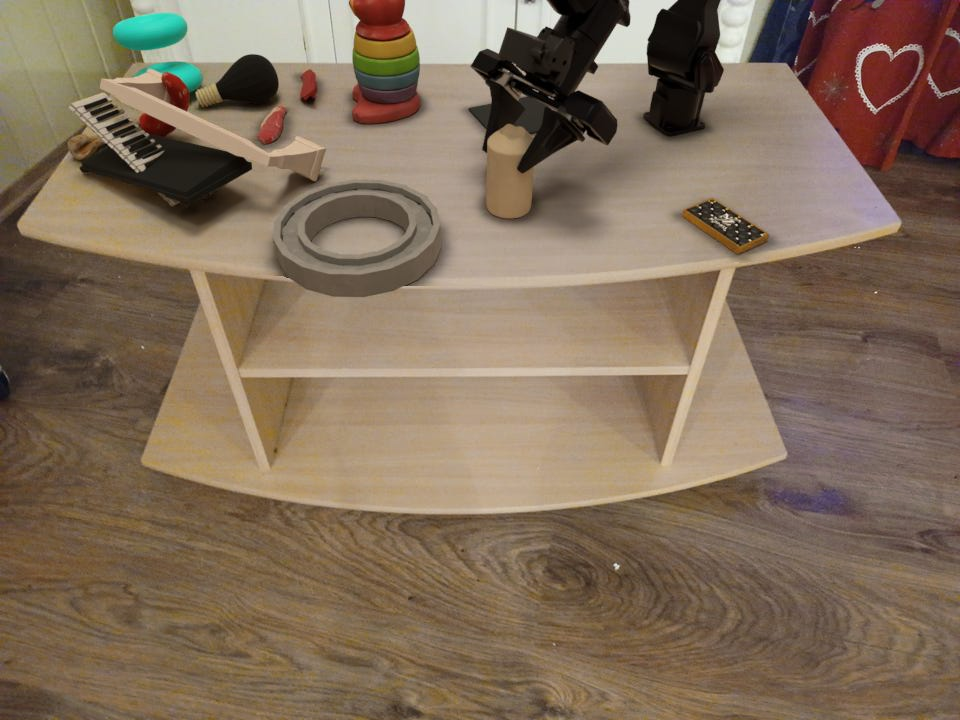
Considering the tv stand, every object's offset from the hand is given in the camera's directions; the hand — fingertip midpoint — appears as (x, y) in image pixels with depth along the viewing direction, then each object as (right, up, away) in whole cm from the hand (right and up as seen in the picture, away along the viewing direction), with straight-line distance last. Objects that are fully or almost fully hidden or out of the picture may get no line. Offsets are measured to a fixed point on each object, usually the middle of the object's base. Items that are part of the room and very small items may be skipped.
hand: (501, 161), depth 83 cm
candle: (+1, -4, +5) cm, 7 cm away
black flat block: (+24, -8, +1) cm, 25 cm away
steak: (-30, +10, +18) cm, 36 cm away
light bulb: (-38, +15, +24) cm, 47 cm away
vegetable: (-48, +8, +16) cm, 51 cm away
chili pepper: (-29, +19, +25) cm, 42 cm away
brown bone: (-53, +10, +16) cm, 56 cm away
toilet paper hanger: (-36, +4, +6) cm, 37 cm away
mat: (+3, +12, +21) cm, 25 cm away
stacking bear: (-16, +14, +24) cm, 32 cm away
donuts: (-45, +23, +24) cm, 56 cm away
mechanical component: (-16, -10, -1) cm, 19 cm away
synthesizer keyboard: (-41, +4, +1) cm, 41 cm away
